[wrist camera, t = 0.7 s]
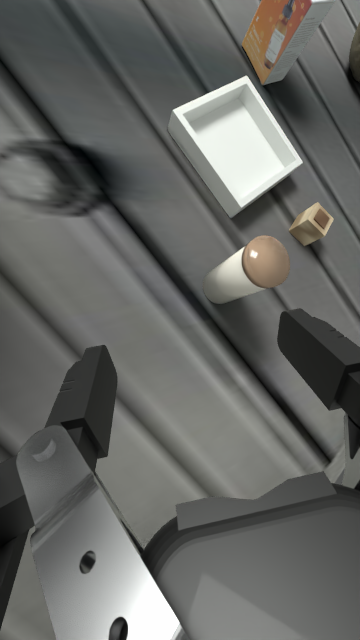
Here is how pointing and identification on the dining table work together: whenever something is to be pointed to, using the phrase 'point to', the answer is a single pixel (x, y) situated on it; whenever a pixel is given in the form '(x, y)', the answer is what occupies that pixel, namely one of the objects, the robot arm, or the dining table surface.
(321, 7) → the small box
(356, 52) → the cantaloupe
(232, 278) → the canister
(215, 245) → the dining table surface
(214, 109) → the tray
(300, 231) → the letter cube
